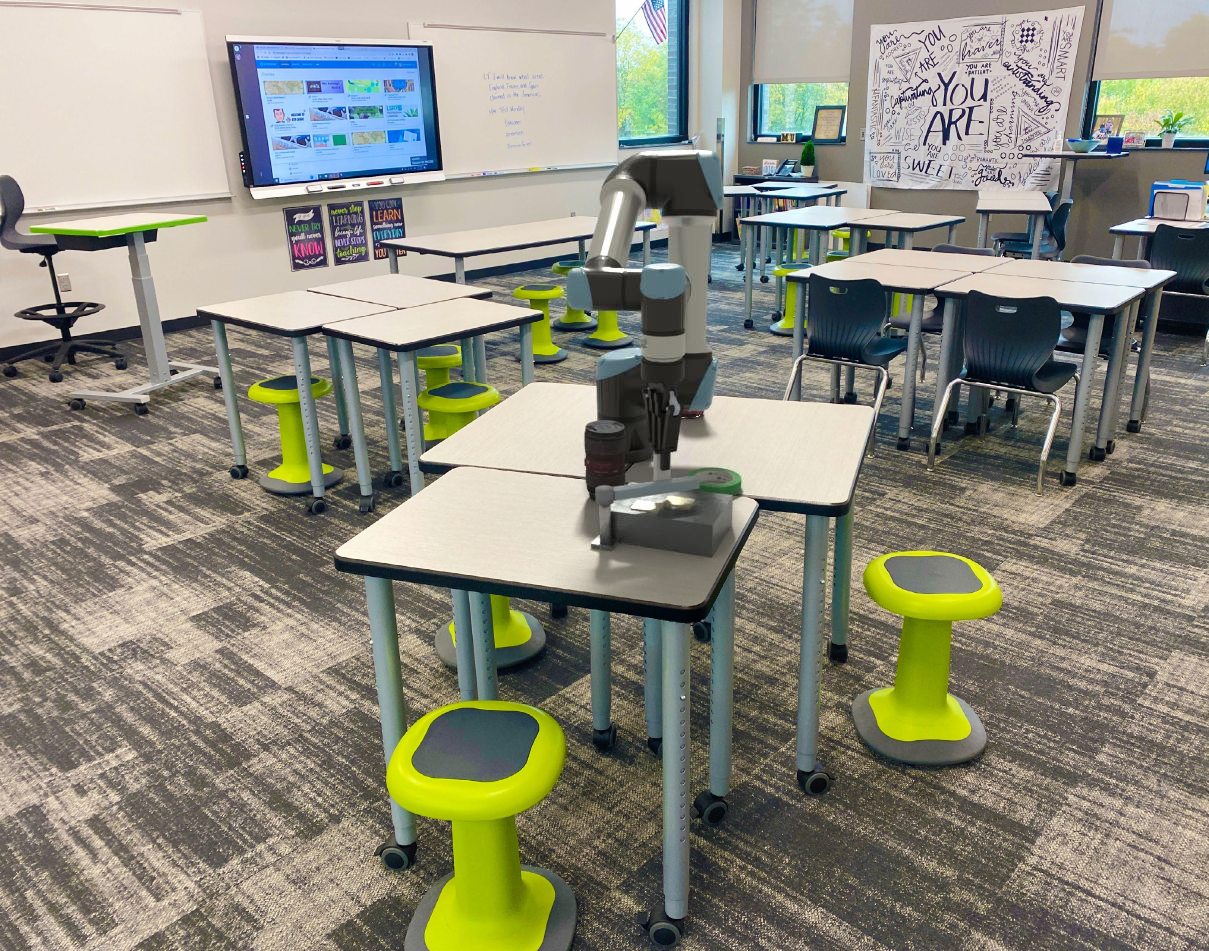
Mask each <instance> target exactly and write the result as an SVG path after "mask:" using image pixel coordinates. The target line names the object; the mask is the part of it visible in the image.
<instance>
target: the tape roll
mask: <svg viewBox="0 0 1209 951" xmlns="http://www.w3.org/2000/svg"><path fill="white" fill-rule="evenodd" d="M694 475H695V476H697V477H698V478H699V479H700V487H699V489H693V490H696V491H704V492H712V493H719V494H727V495H733V496H735V495H737V494H739V493H740V492H741V490H742V476H741V475H740V474H739V473H738V472H736V471H734V470H732V469H729V468H723V467H715V466H714V467H712V466H711V467H701V468H696V469H693V470H691V471H689V472H688V473H687V474H686V477H687V476H694ZM708 481H709V482H708ZM712 481H715V482H721V483H710V482H712ZM722 482H723V483H722Z"/></svg>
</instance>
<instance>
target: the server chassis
mask: <svg viewBox="0 0 1209 951" xmlns="http://www.w3.org/2000/svg"><path fill="white" fill-rule="evenodd" d="M638 483H639V482H633V481H632V482H631V481H630V482H628V484H627V485H631V484H638ZM733 500H734V495H727V494H719V493H712V492H704V491H696V490H686V491H679V492H672V493H666V494H659V495H652V496H645V497H638V498H631V499H625V500H618V501H614V503H613V504H610V505H599V504H598V506H599V507H598V510H599V513H598V514H599V518H598V520H599V521H598V522H599V534H598V535H597V537H595V539H593V540H592V542H591V543H590V549H597V550H603V551H611V552H613V551H614V550H615V548H616V547H617V546H618V545H619V544H624V545H631V546H637V547H638V546H639V547H645V548H651V549H657V550H662V551H663V550H664V551H670V552H677V553H684V554H689V555H695V556H703V557H707V558H708V557H709V558H713V556H714V554H715V553H716V552H717V550H718V548H719V546H720V545H721V543H722V542H723V540H724V539H725V537H726V535H727V534H728V532H729V530H730V528H731V527H732V525H733V505H734V504H733Z"/></svg>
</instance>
